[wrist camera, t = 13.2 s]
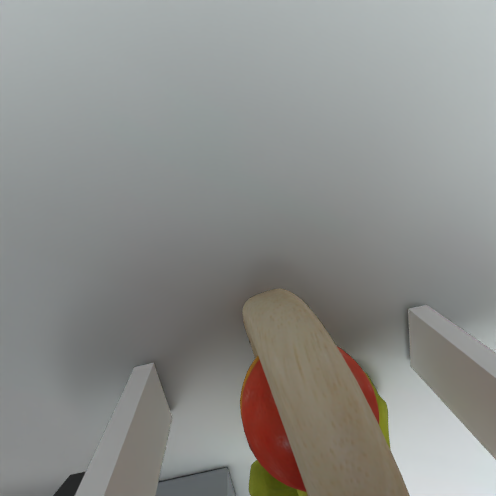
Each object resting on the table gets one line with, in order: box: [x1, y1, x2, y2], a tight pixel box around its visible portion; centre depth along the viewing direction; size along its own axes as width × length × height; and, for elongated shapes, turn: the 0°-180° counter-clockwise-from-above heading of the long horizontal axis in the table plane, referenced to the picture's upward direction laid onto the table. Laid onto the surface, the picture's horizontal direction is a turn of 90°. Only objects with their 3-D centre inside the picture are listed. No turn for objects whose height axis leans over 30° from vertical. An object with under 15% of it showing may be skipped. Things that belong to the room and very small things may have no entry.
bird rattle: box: [240, 289, 409, 496], centre depth 7 cm, size 6×11×9 cm
